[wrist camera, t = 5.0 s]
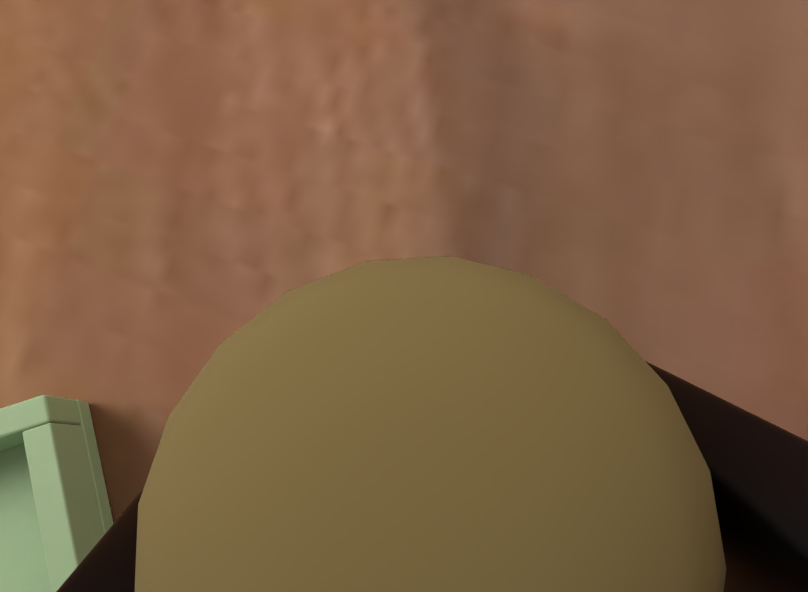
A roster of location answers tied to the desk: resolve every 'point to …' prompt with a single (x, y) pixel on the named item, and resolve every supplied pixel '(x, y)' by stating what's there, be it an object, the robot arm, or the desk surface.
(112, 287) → the desk surface
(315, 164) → the desk surface
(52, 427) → the tray
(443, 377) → the olive brown pawn
